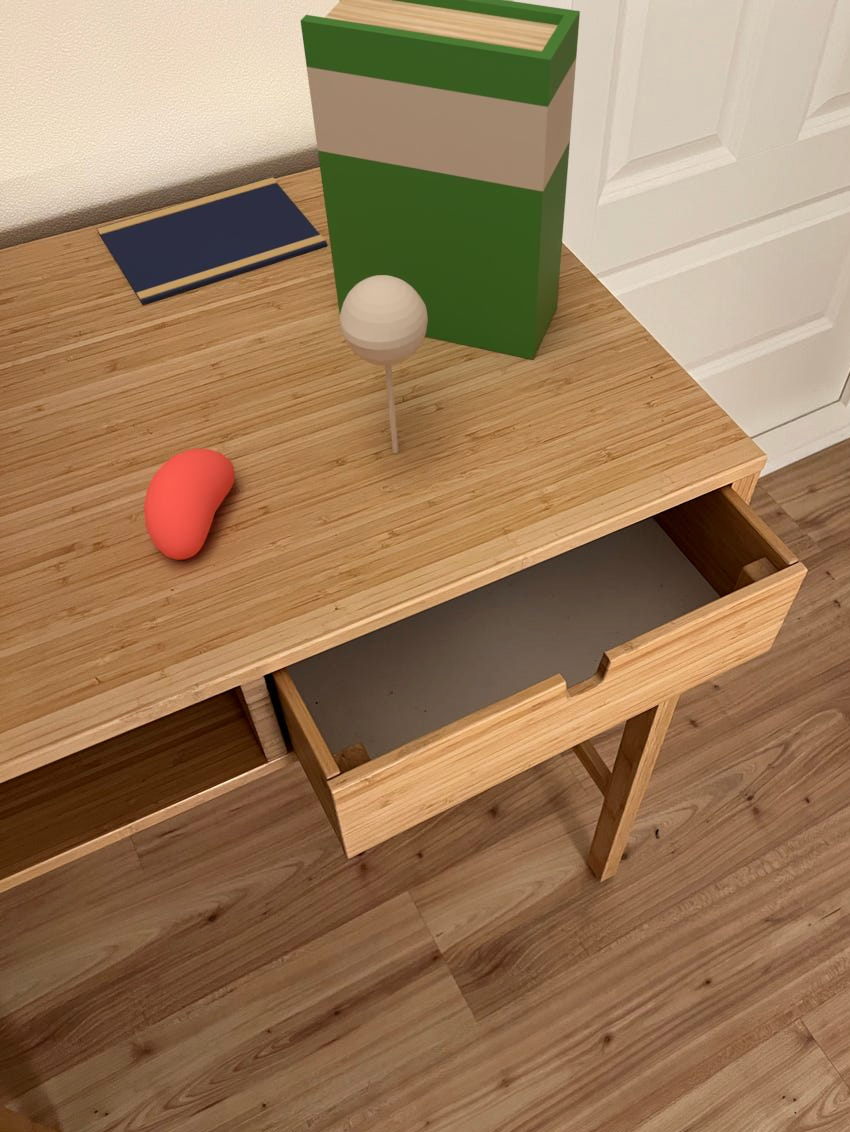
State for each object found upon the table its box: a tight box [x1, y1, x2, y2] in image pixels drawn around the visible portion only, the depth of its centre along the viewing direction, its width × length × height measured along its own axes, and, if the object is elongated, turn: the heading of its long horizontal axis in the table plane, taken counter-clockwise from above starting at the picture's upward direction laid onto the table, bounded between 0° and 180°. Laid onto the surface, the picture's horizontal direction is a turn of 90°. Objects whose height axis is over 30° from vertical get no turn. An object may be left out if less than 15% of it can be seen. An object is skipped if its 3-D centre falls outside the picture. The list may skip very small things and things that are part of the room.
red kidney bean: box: [143, 448, 236, 561], centre depth 72 cm, size 5×9×6 cm, turn 157°
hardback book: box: [300, 0, 581, 361], centre depth 78 cm, size 18×7×24 cm, turn 72°
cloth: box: [96, 176, 328, 306], centre depth 94 cm, size 18×13×1 cm
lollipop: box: [339, 275, 428, 454], centre depth 71 cm, size 6×6×15 cm
